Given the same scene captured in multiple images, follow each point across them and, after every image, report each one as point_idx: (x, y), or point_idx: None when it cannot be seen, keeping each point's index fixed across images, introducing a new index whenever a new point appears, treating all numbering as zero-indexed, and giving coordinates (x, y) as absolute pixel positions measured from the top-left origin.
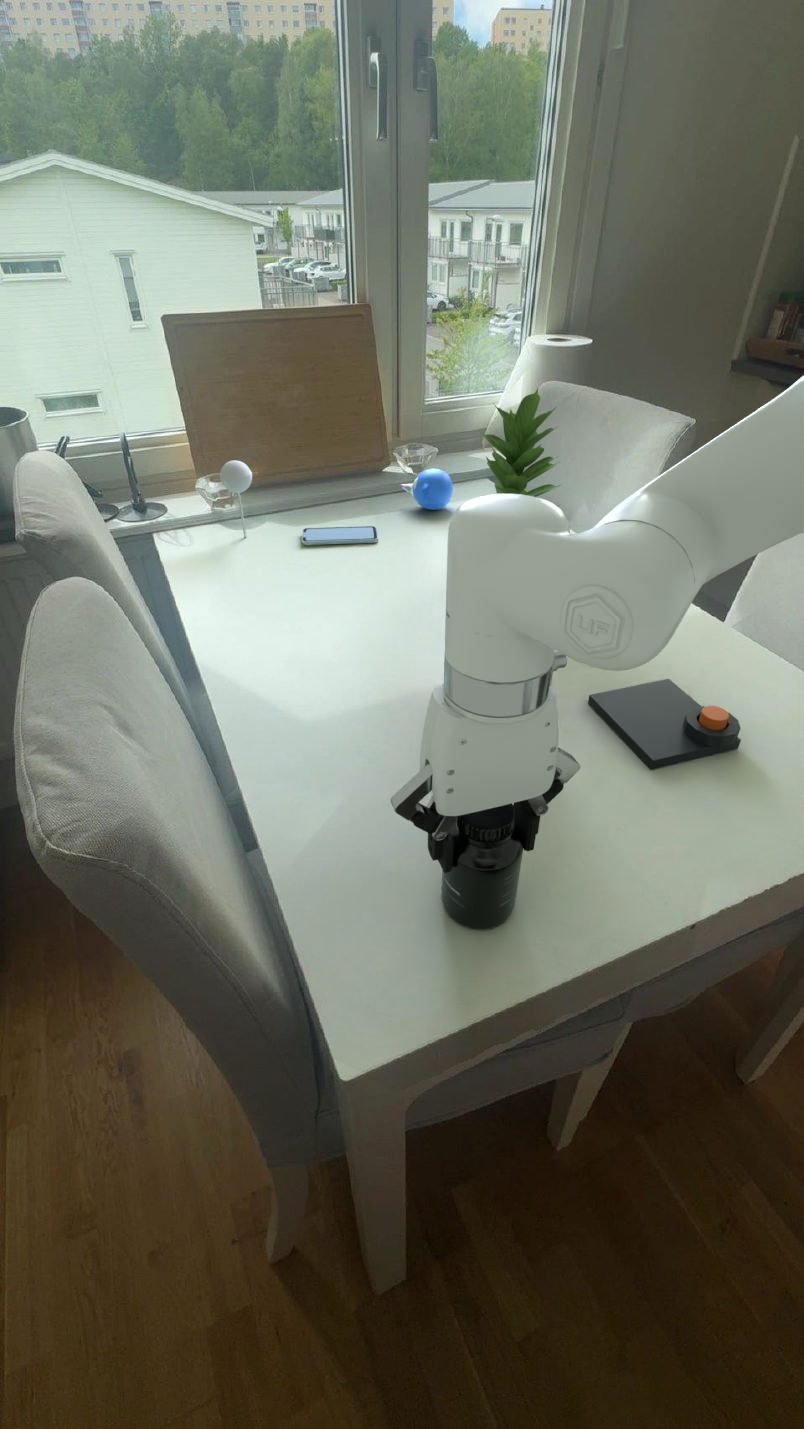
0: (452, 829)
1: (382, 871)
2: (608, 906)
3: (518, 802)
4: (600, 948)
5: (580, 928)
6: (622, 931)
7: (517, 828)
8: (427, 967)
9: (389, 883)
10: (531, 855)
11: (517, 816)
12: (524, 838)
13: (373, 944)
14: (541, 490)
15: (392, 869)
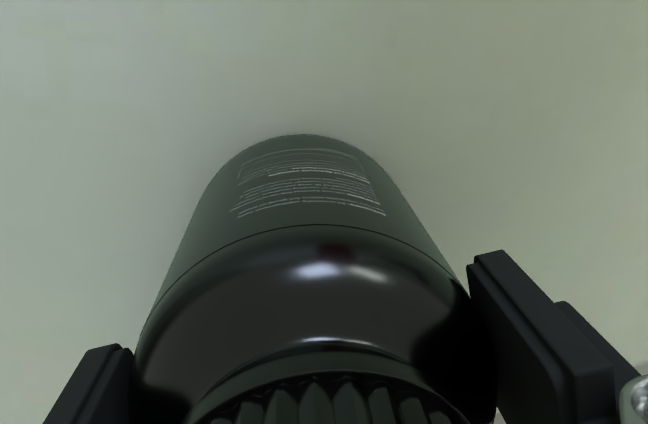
0: (155, 420)
1: (2, 96)
2: (642, 266)
3: (564, 421)
4: None
5: None
6: (637, 334)
7: (491, 404)
8: None
9: (32, 148)
10: (507, 68)
11: (518, 374)
12: (503, 402)
13: (11, 342)
14: None
15: (36, 90)
